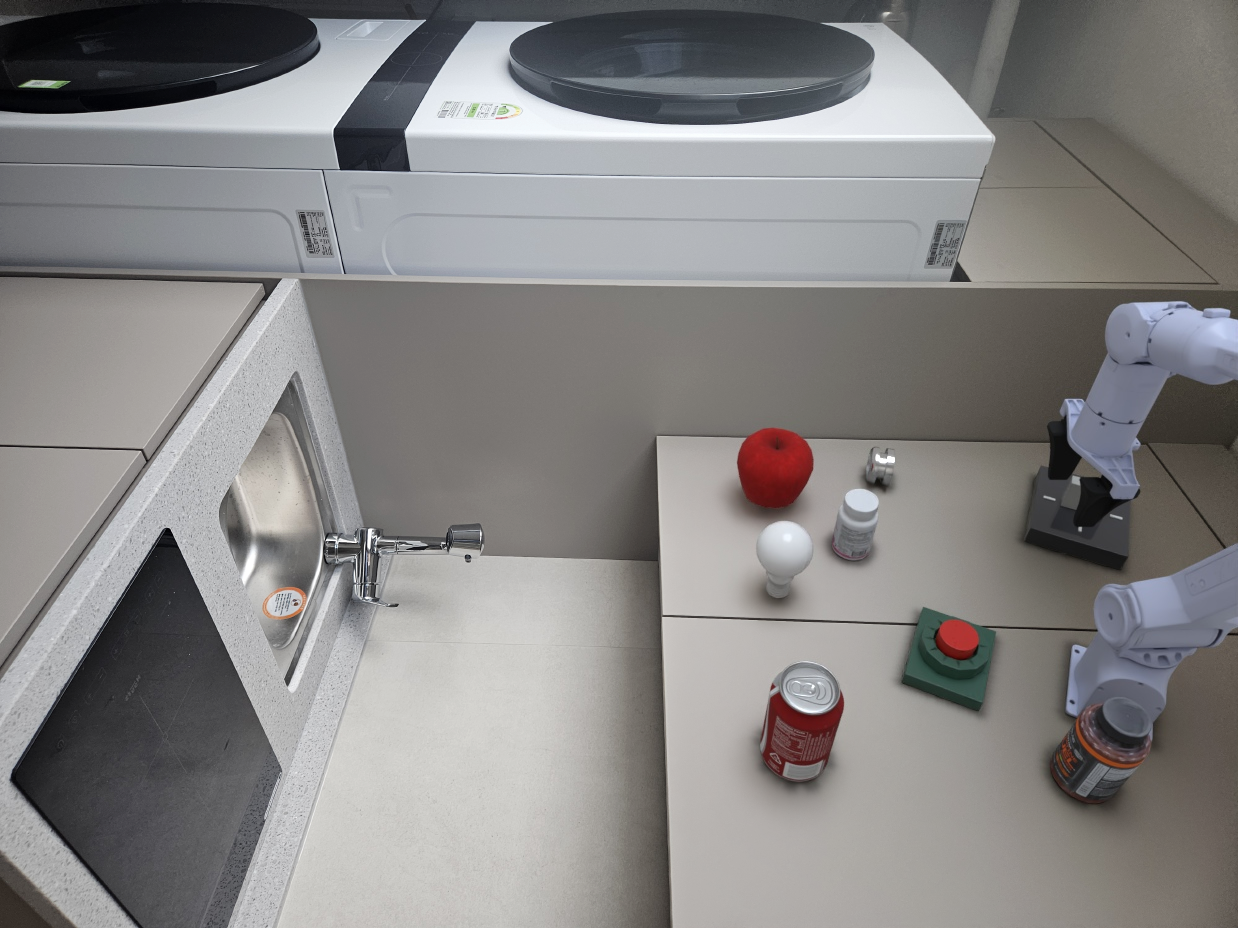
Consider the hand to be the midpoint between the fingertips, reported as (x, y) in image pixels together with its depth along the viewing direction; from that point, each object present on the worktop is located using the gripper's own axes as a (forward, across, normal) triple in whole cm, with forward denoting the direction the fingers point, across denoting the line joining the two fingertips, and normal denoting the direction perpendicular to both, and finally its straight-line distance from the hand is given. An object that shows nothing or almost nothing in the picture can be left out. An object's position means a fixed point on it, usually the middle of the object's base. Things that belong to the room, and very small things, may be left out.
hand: (1069, 500), depth 93 cm
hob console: (+10, +7, -7) cm, 14 cm away
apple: (+10, +11, +32) cm, 35 cm away
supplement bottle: (+11, -28, +6) cm, 31 cm away
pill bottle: (+10, +2, +23) cm, 25 cm away
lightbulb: (+11, -5, +33) cm, 35 cm away
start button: (+7, -15, +15) cm, 23 cm away
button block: (+10, -15, +15) cm, 24 cm away
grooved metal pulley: (+10, +15, +17) cm, 25 cm away
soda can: (+11, -26, +34) cm, 44 cm away
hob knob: (+8, +7, -7) cm, 12 cm away
